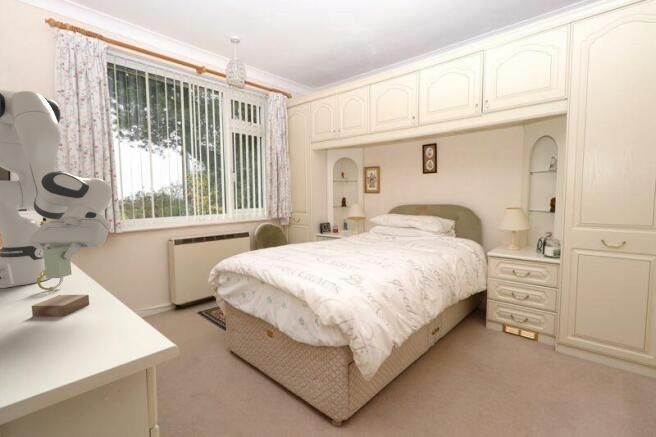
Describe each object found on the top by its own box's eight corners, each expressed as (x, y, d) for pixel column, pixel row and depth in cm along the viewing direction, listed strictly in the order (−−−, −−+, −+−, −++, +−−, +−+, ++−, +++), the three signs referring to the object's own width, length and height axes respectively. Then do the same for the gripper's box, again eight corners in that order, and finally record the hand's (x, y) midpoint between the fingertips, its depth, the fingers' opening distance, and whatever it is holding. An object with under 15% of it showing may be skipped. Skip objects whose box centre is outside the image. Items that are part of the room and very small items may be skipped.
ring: (38, 293, 107) (36, 270, 107) (37, 291, 109) (34, 269, 109) (65, 288, 113) (62, 266, 112) (62, 286, 115) (60, 265, 114)
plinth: (32, 316, 88) (31, 305, 87) (60, 304, 97) (59, 295, 96) (64, 315, 88) (63, 305, 87) (89, 304, 97) (88, 294, 96)
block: (46, 278, 89) (43, 250, 88) (58, 274, 93) (55, 247, 92) (60, 278, 89) (57, 250, 88) (71, 274, 93) (68, 247, 92)
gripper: (39, 215, 96) (10, 253, 88) (105, 213, 96) (83, 251, 87) (53, 228, 101) (27, 265, 92) (116, 226, 101) (96, 263, 92)
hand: (55, 258), depth 90 cm, fingers closed on block, 4 cm apart
